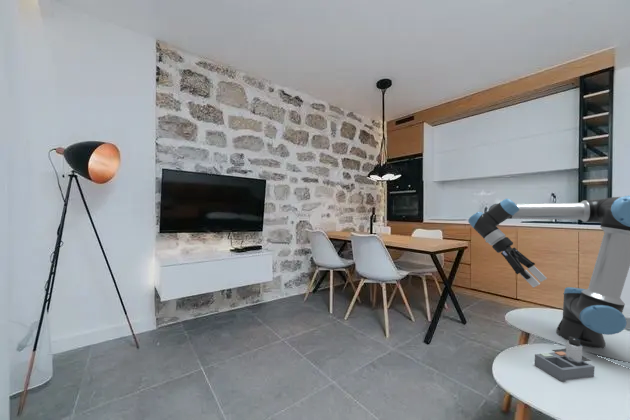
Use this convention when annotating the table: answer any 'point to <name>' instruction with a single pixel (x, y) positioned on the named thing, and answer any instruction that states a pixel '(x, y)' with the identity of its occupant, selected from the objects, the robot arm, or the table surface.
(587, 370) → the socket block
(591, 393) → the table surface
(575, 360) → the plug
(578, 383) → the table surface
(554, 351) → the plug mat
